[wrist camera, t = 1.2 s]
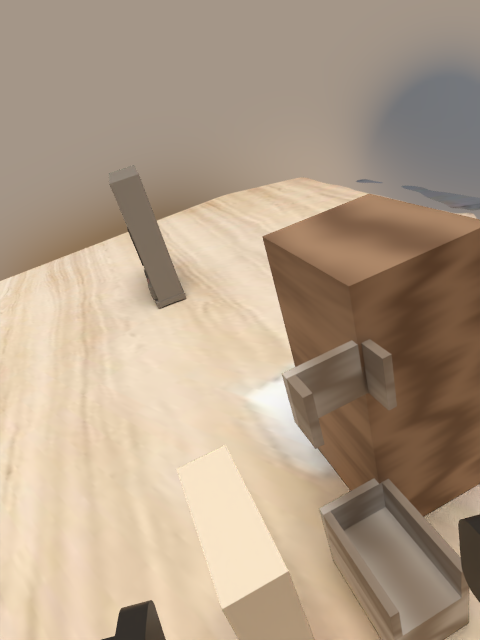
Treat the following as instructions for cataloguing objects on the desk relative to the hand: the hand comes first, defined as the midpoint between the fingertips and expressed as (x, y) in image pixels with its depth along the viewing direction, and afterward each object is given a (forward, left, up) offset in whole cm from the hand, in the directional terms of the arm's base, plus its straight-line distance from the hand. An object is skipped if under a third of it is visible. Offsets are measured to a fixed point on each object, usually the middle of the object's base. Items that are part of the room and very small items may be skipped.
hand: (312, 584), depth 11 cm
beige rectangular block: (+2, -8, -24) cm, 26 cm away
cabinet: (-12, -15, -24) cm, 31 cm away
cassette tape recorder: (-4, -79, -24) cm, 82 cm away
